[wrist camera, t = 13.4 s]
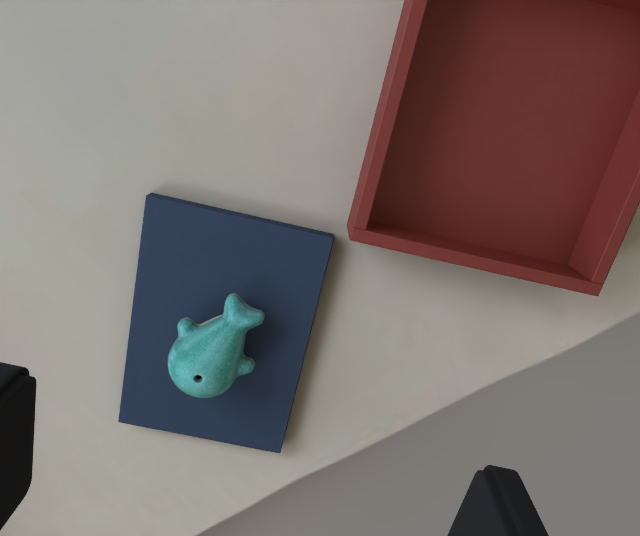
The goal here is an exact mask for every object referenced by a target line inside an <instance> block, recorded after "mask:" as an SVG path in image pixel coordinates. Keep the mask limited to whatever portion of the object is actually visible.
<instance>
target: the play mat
mask: <svg viewBox="0 0 640 536" xmlns="http://www.w3.org/2000/svg"><path fill="white" fill-rule="evenodd" d="M333 240H334V235H333V234H331V233H326V232H322V231H317V230H313V229H309V228H304V227H300V226H295V225H291V224H287V223H282V222H278V221H273V220H269V219H265V218H260V217H256V216H251V215H247V214H243V213H238V212H234V211H229V210H225V209H221V208H216V207H212V206H207V205H203V204H198V203H194V202H190V201H185V200H181V199H176V198H172V197H168V196H163V195H159V194H154V193H150V194H148V195H147V196H146V201H145V210H144V218H143V226H142V234H141V242H140V250H139V258H138V267H137V275H136V283H135V291H134V299H133V307H132V315H131V324H130V332H129V340H128V348H127V356H126V364H125V373H124V381H123V389H122V397H121V405H120V413H119V422H121V423H127V424H132V425H137V426H142V427H147V428H152V429H158V430H163V431H168V432H173V433H178V434H183V435H188V436H194V437H199V438H204V439H209V440H214V441H219V442H224V443H230V444H235V445H240V446H245V447H250V448H255V449H261V450H266V451H271V452H276V453H280V452H281V448H282V444H283V440H284V436H285V432H286V428H287V424H288V420H289V416H290V412H291V408H292V404H293V400H294V396H295V392H296V388H297V384H298V380H299V376H300V372H301V368H302V364H303V360H304V356H305V352H306V348H307V344H308V340H309V336H310V332H311V328H312V324H313V320H314V316H315V312H316V308H317V304H318V300H319V296H320V292H321V288H322V284H323V280H324V276H325V272H326V268H327V264H328V260H329V256H330V252H331V248H332V244H333ZM233 293H234V294H237V295H239V296H240V298H241V299H242V300H243V301H244V302H245V303H246V304H247V305H248V306H250V307H252V308H255V309H258V310H261V311H262V312H263V313H264V315H265V318H264V321H263V322H262V324H260V325H258V326H256V327H254V328H252V329H249V330H248V331H247V333H246V337H245V344H244V349H243V354H244V355H245V356H246V357H249V358H251V359H253V361H254V362H255V368H254V370H253V371H252V372H251V373H248V374H245V375H241V376H238V377H237V378H236V379H235V381H234V383H233V384H232V386H231V387H230V388H229V389H228V390H226V391H225V392H223V393H222V394H220V395H217V396H214V397H210V398H198V397H194V396H191V395H188V394H186V393H185V392H183V391H182V390H180V389H179V388H178V387H177V386H176V385H175V383H174V382H173V380H172V378H171V376H170V373H169V370H168V356H169V352H170V349H171V347H172V345H173V344H174V342H175V341H176V340H177V338H178V328H177V326H178V323H179V321H180V320H181V319H183V318H190V319H192V320H193V321H194V322H195V323H196V324H202V323H204V322H206V321H208V320H210V319H212V318H215V317H217V316H220V315H222V314H223V313H224V305H225V301H226V298H227V297H228V296H229V295H230V294H233Z"/></svg>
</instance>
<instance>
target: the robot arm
mask: <svg viewBox="0 0 640 536" xmlns="http://www.w3.org/2000/svg"><path fill="white" fill-rule="evenodd" d="M35 400H36V379H35V378H34V377H31V376H29V371H28V369H27V368H25V367H20V366H15V365H11V364H6V363H1V362H0V530H1V529H2V527H3V526H4V525H5V523H6V522H7V520H8V519H9V518H10V516H11V515H12V514H13V512H14V511H15V509H16V508H17V507H18V505H19V504H20V503H21V501H22V500H23V498H24V497H25V495H26V493H27V491H28V489H29V487H30V484H31V479H32V463H33V442H34V421H35ZM448 536H548V534H547V532H546V530H545V528H544V525H543V523H542V521H541V519H540V517H539V515H538V513H537V511H536V509H535V507H534V505H533V503H532V501H531V499H530V496H529V494H528V493H527V490H526V488H525V486H524V484H523V482H522V480H521V478H520V476H519V475H518V473H517V472H516V471H515V470H511V469H506V468H502V467H497V466H492V465H488V466H487V467H485V468H484V470H483V471H481V470H479V471H477V472H476V474H475V476H474V478H473V480H472V482H471V485H470V486H469V489H468V491H467V493H466V496H465V498H464V500H463V503H462V504H461V507H460V509H459V511H458V513H457V516H456V518H455V520H454V522H453V524H452V527H451V529H450V531H449V534H448Z"/></svg>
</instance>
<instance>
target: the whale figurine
mask: <svg viewBox="0 0 640 536" xmlns="http://www.w3.org/2000/svg"><path fill="white" fill-rule="evenodd" d="M264 318H265V315H264V313H263V312H262V311H261V310H258V309H255V308H252V307H250V306H248V305H247V304H246V303H245V302H244V301H243V300H242V299H241V298H240V296H239V295H237V294H234V293H233V294H230V295H229V296H228V297H227V298H226V301H225V305H224V313H223V314H222V315H220V316H217V317H215V318H212V319H210V320H208V321H206V322H204V323H202V324H196V323H195V322H194V321H193V320H192V319H190V318H183V319H181V320H180V321H179V323H178V326H177V328H178V338H177V340H176V341H175V342H174V344H173V345H172V347H171V349H170V352H169V356H168V370H169V373H170V376H171V378H172V380H173V382H174V383H175V385H176V386H177V387H178V388H179V389H180V390H182V391H183V392H185V393H186V394H188V395H191V396H194V397H198V398H210V397H214V396H217V395H220V394H222V393H223V392H225V391H226V390H228V389H229V388H230V387H231V386H232V384H233V383H234V381H235V379H236V378H237V377H238V376H241V375H245V374H248V373H251V372H252V371H253V370H254V368H255V362H254V361H253V359H251V358H249V357H246V356H245V355H244V354H243V349H244V344H245V337H246V333H247V331H248V330H249V329H252V328H254V327H256V326H258V325H260V324H262V322H263V321H264Z"/></svg>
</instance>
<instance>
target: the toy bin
mask: <svg viewBox="0 0 640 536" xmlns="http://www.w3.org/2000/svg"><path fill="white" fill-rule="evenodd" d="M639 203H640V0H405V1H404V5H403V9H402V12H401V16H400V20H399V24H398V28H397V32H396V36H395V40H394V44H393V48H392V51H391V55H390V59H389V63H388V67H387V71H386V75H385V79H384V83H383V87H382V90H381V94H380V98H379V102H378V106H377V110H376V114H375V118H374V122H373V126H372V129H371V133H370V137H369V141H368V145H367V149H366V153H365V157H364V161H363V165H362V168H361V172H360V176H359V180H358V184H357V188H356V192H355V196H354V200H353V204H352V207H351V211H350V215H349V219H348V223H347V228H348V233H349V238H350V240H351V241H356V242H360V243H365V244H369V245H373V246H378V247H382V248H387V249H391V250H396V251H400V252H404V253H409V254H413V255H418V256H422V257H426V258H431V259H435V260H440V261H444V262H448V263H453V264H457V265H462V266H466V267H470V268H475V269H479V270H484V271H488V272H493V273H497V274H501V275H506V276H510V277H515V278H519V279H523V280H528V281H532V282H537V283H541V284H545V285H550V286H554V287H559V288H563V289H568V290H572V291H576V292H581V293H585V294H590V295H594V296H599V293H600V291H601V289H602V286H603V284H604V282H605V280H606V277H607V275H608V273H609V271H610V268H611V266H612V264H613V262H614V259H615V257H616V255H617V253H618V250H619V248H620V246H621V243H622V241H623V239H624V237H625V234H626V232H627V230H628V228H629V225H630V223H631V221H632V219H633V216H634V214H635V212H636V209H637V207H638V205H639Z"/></svg>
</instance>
